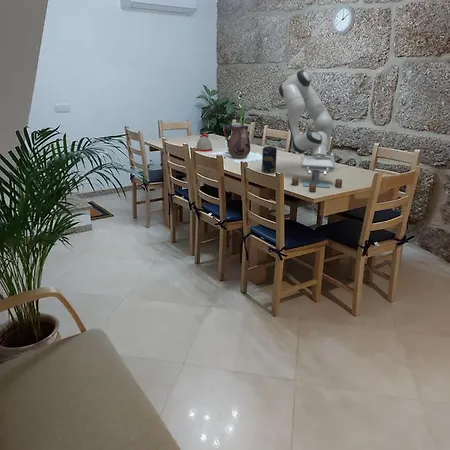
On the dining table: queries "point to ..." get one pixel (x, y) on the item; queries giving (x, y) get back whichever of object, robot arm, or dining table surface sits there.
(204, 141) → the bell with red bow
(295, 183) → the spacer posts
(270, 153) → the canister
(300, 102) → the robot arm
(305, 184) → the pad
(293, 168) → the dining table surface
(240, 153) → the ceramic pitcher
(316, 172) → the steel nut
